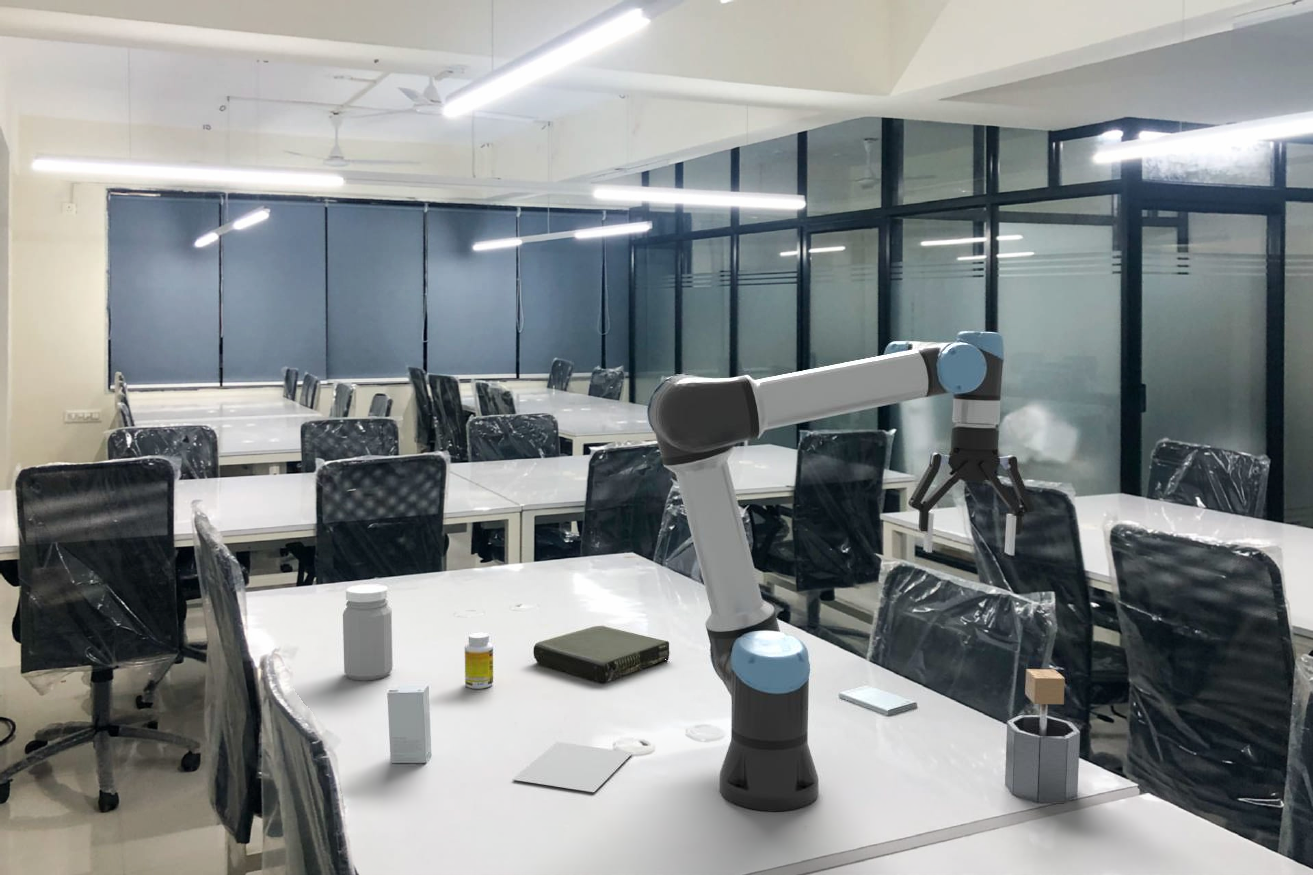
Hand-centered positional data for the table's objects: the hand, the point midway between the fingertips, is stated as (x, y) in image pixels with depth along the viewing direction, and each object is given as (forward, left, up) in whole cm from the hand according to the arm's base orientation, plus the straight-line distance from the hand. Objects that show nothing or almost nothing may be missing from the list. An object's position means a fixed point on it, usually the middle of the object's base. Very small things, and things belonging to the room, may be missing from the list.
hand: (968, 552), depth 180 cm
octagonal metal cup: (+8, -17, -34) cm, 38 cm away
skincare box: (-92, -9, -34) cm, 99 cm away
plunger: (+8, -17, -32) cm, 37 cm away
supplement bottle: (-88, +29, -34) cm, 99 cm away
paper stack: (-68, -6, -34) cm, 76 cm away
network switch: (-65, +45, -34) cm, 86 cm away
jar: (-112, +35, -34) cm, 122 cm away
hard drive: (-10, +23, -34) cm, 43 cm away
